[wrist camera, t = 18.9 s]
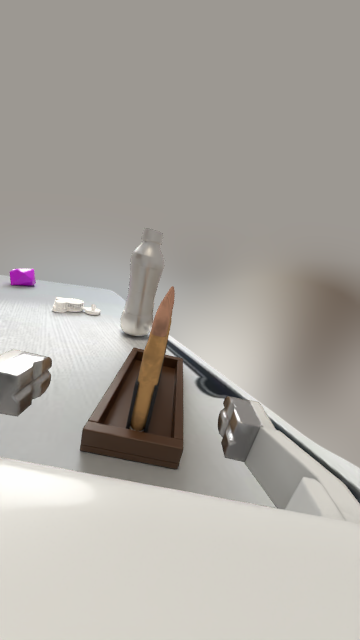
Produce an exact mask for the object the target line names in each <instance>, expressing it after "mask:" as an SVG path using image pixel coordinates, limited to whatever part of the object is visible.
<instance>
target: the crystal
mask: <svg viewBox="0 0 360 640" xmlns="http://www.w3.org/2000/svg"><path fill="white" fill-rule="evenodd" d="M10 280H11V285H24V286H34V284H35V283H36V281H35V273H34V269H13V270H12V271H10Z"/></svg>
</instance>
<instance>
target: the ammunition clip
mask: <svg viewBox="0 0 360 640" xmlns="http://www.w3.org/2000/svg"><path fill="white" fill-rule="evenodd" d="M173 304H174V287H171V288H170V290H169V291H168V293H167V294H166V296H165V297H164V299H163V301H162V302H161V304H160V306H159V308H158V310H157V312H156V315H155V318H154V321H153V325H152V329H151V332H150V336H149V339H148V343H147V345H146V347H145V350H144V353H143V358H142V362H141V367H140V372H139V374H138V377H137V379H136V381H135V385H134V390H133V395H132V400H131V405H130V410H129V414H128V419H127V424H126V429H130V430H135V431H140V432H145V433H148V428H149V424H150V420H151V416H152V412H153V408H154V404H155V400H156V395H157V391H158V387H159V382H160V377H161V372H162V367H163V362H164V357H165V352H166V347H167V342H168V335H169V330H170V325H171V316H172V309H173Z"/></svg>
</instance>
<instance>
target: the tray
mask: <svg viewBox="0 0 360 640" xmlns="http://www.w3.org/2000/svg"><path fill="white" fill-rule="evenodd" d="M143 353H144V350H142V349H138V348H133V349H132V351H131V353H130V354H129V356H128V358H127V359H126V361H125V362H124V364H123V366H122V367H121V369H120V370H119V372H118V374H117V375H116V377H115V378H114V380H113V382H112V383H111V385H110V386H109V388H108V390H107V391H106V393H105V394H104V396H103V398H102V399H101V401H100V402H99V404H98V406H97V407H96V409H95V410H94V412H93V414H92V415H91V417H90V418H89V420H88V422H87V423H86V425H85V426H84V428H83V432H82V439H81V446H80V450H81V451H86V452H91V453H96V454H101V455H106V456H111V457H117V458H122V459H127V460H132V461H137V462H143V463H148V464H153V465H158V466H163V467H168V468H174V469H177V468H178V465H179V461H180V458H181V455H182V452H183V359H182V358H177V357H173V356H169V355H165V357H164V362H163V367H162V372H161V377H160V382H159V387H158V391H157V395H156V400H155V404H154V408H153V412H152V416H151V420H150V424H149V428H148V433H145V432H140V431H135V430H130V429H126V424H127V419H128V414H129V410H130V405H131V400H132V395H133V390H134V385H135V381H136V379H137V377H138V374H139V372H140V367H141V362H142V358H143Z"/></svg>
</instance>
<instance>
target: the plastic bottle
mask: <svg viewBox="0 0 360 640" xmlns="http://www.w3.org/2000/svg"><path fill="white" fill-rule="evenodd" d="M162 237H163V233H161V232H159V231H156V230H153V229H148V228H144V230H143V235H142V237H141V239H142V240H143V241H142V243H141V244H140V245H139V246H138V247H137V248H136V249H135V251H134V252H133V253H132V255H131V260H130V262H131V264H130V282H129V290H128V296H127V300H126V304H125V309H124V310H123V312H122V315H121V319H120V323H121V328H122V330H123V331H124V332H125V333H127V334H129V335H133V336H145V335H147V334H148V333H149V332H150V330H151V327H152V323H153V307H154V298H155V293H156V290H157V287H158V283H159V280H160V277H161V274H162V271H163V269H164V258H163V255H162V252H161V250H160V245H162Z"/></svg>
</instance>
